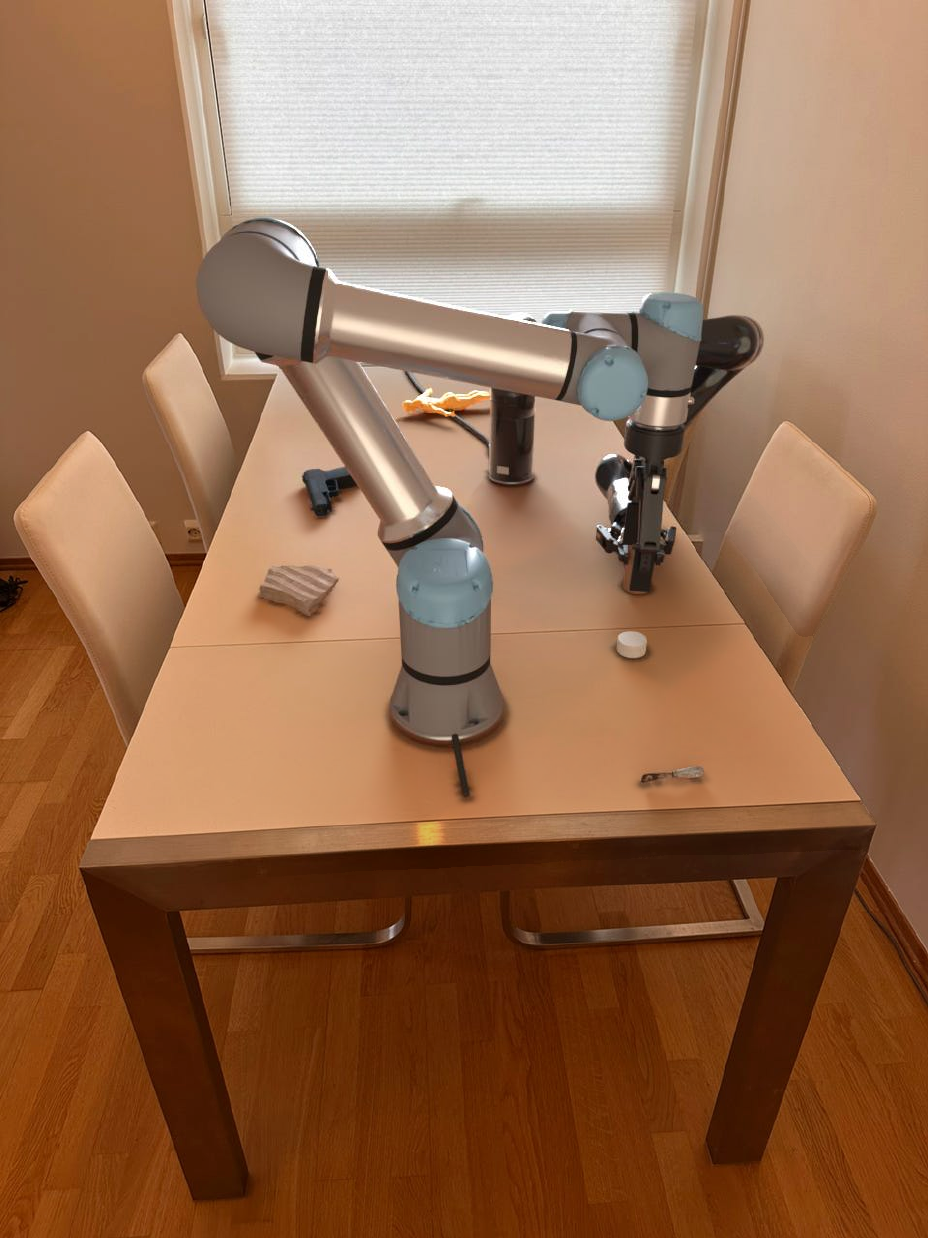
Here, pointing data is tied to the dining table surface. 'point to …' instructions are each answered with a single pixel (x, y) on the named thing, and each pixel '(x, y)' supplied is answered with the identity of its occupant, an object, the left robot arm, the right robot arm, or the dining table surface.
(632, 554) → the bottle
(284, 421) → the dining table surface
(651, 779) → the putty knife
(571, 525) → the dining table surface
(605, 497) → the right robot arm
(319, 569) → the stone
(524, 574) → the dining table surface
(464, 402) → the human figure
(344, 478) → the handgun
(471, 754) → the dining table surface
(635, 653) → the cap
